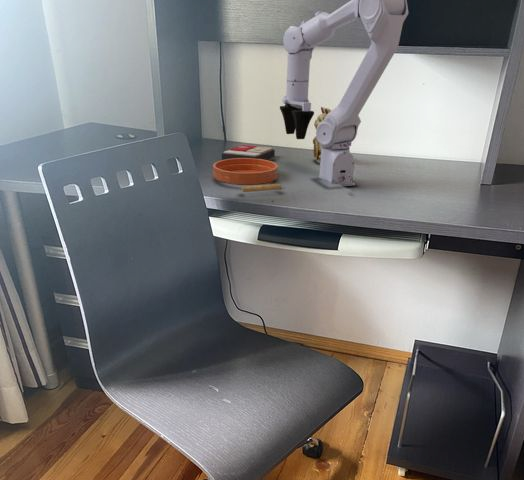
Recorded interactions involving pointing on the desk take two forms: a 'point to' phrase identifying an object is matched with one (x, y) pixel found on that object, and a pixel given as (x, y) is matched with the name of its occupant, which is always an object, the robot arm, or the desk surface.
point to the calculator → (249, 152)
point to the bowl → (245, 171)
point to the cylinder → (260, 187)
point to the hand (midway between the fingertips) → (295, 136)
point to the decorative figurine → (316, 144)
